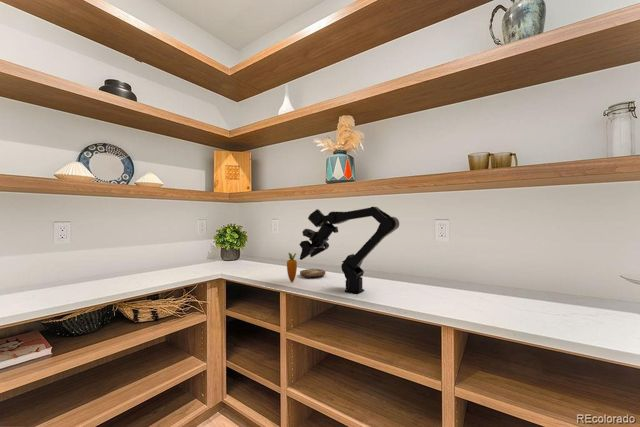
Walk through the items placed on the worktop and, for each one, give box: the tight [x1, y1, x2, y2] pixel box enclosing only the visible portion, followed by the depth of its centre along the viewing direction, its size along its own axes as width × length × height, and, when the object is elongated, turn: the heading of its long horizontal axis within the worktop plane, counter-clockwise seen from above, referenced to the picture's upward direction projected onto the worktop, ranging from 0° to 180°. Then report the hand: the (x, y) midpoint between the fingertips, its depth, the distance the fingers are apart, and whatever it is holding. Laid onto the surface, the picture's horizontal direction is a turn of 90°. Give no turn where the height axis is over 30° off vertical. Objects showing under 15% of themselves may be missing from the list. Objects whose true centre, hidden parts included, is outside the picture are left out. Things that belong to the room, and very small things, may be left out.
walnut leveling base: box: [299, 268, 326, 279], centre depth 147 cm, size 14×14×3 cm
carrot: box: [286, 252, 298, 283], centre depth 133 cm, size 5×5×15 cm
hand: (305, 257), depth 129 cm, fingers open, 9 cm apart
